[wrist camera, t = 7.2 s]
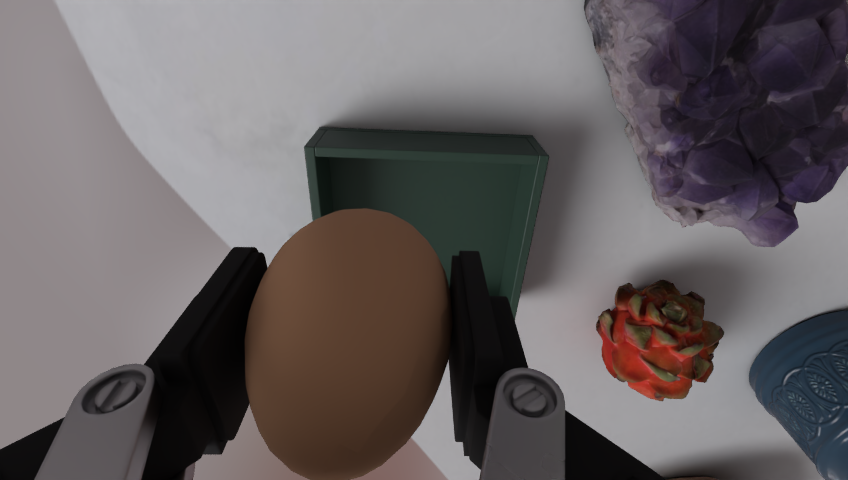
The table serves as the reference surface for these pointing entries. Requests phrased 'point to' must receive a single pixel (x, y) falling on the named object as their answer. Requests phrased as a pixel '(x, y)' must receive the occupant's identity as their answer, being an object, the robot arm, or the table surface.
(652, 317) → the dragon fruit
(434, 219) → the box
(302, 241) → the egg
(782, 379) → the canister
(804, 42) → the geode
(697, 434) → the table surface
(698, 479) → the bowl
